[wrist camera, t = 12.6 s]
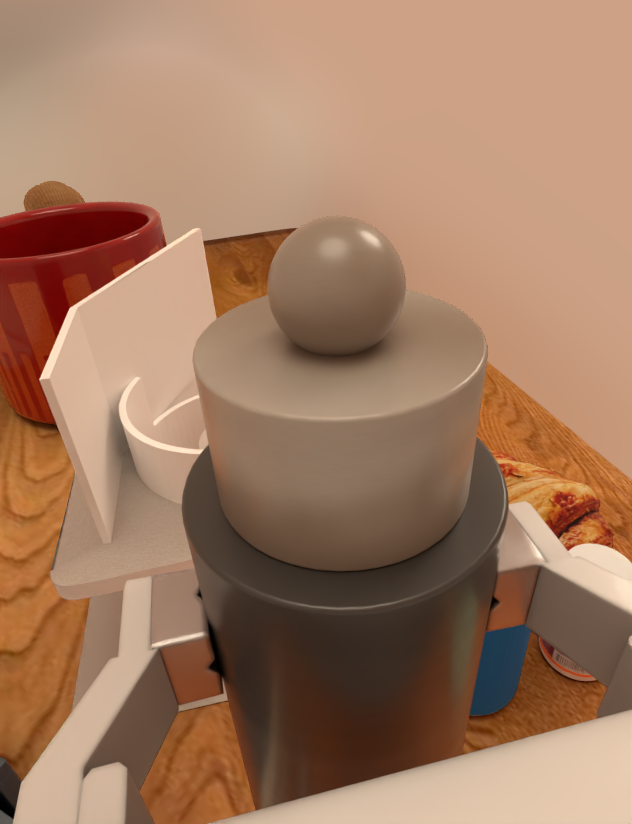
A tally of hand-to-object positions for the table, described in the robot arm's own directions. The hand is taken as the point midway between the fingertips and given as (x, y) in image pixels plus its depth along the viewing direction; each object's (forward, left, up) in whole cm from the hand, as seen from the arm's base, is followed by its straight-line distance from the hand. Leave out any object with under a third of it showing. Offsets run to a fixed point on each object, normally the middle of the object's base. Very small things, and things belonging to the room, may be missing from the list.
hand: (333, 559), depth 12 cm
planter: (+37, +52, -27) cm, 69 cm away
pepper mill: (-1, 0, -12) cm, 12 cm away
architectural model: (+19, +21, -27) cm, 39 cm away
